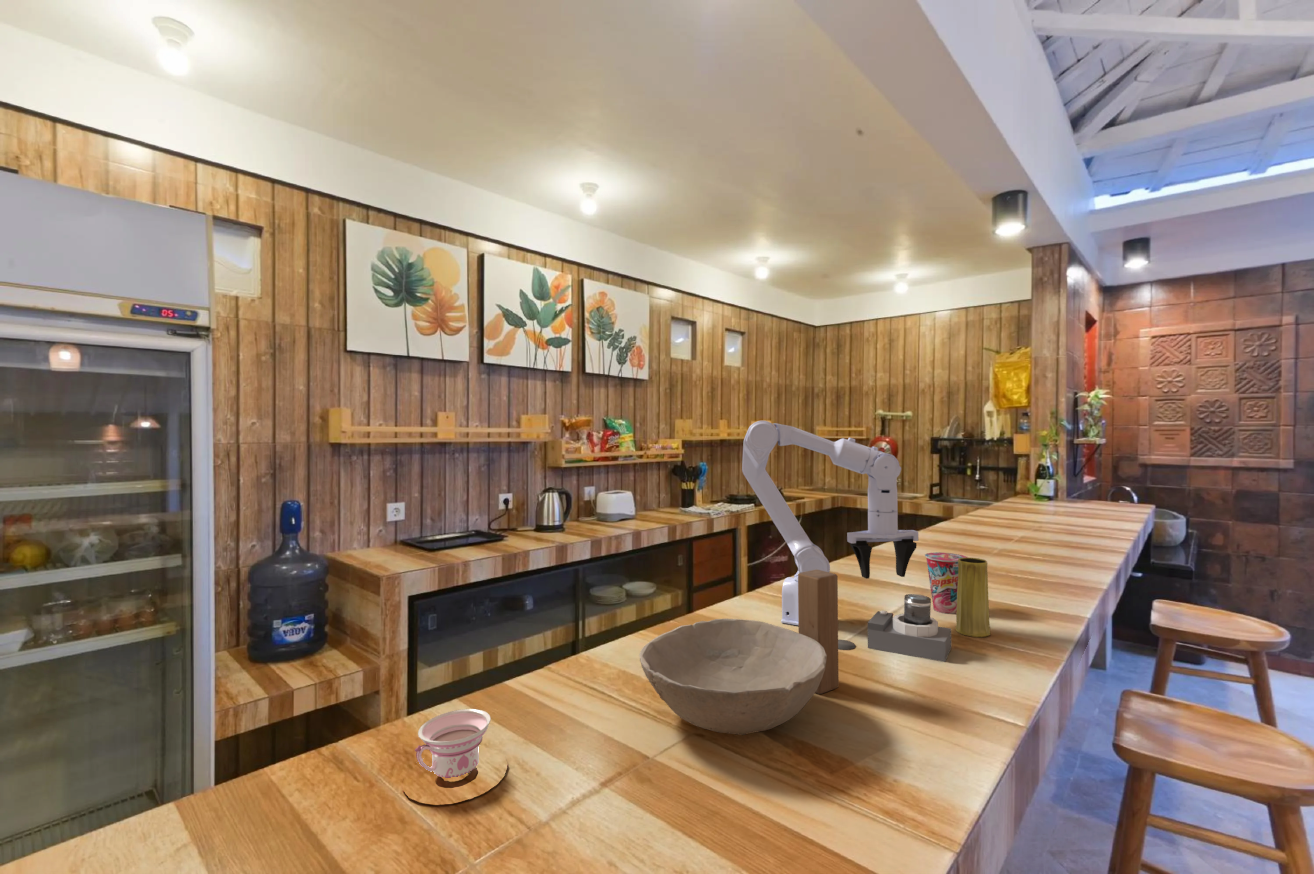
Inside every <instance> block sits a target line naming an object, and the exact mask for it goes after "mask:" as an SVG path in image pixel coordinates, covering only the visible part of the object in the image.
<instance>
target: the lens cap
mask: <svg viewBox="0 0 1314 874" xmlns="http://www.w3.org/2000/svg"><path fill="white" fill-rule="evenodd" d="M855 648H856V644H855V643H854V642H853V641H850V640H846V639H838V651H839V650H840V651H850V650H854V649H855Z"/></svg>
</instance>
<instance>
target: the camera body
mask: <svg viewBox="0 0 1314 874" xmlns="http://www.w3.org/2000/svg"><path fill="white" fill-rule="evenodd" d="M867 648H868V649H870V650H871V649H872V650H878V651H884V652H889V653H895V654H898V655H899V654H900V655H904V656H911V657H916V658H923V659H927V660H931V661H932V660H933V661H938V662H942V663H943V662H944V663H946V661H947V659H948V656H949V654H950V652H951V649H952V628H951V627H945V626H944V627H943V626H939V621H938V620H937V619H935V618H933V617H931V616H930V624H928V625H913V624H907V623H904V613H900V614H895V615H894V614H893V613H892V612H887V611H886V610H880V611H877V612H875V613H874V615H873V616H872V617H871V618H870V619H869V620H868V621H867Z"/></svg>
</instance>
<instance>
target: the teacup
mask: <svg viewBox="0 0 1314 874" xmlns="http://www.w3.org/2000/svg"><path fill="white" fill-rule="evenodd" d="M491 719H492V718H491V715H490V714H489V713H488V712H487V711H485V710H482V709H475V708H464V709H456V710H451V711H448V712H444V713H441V714H439V715H437V716H434V717H432V718H430V719H429V720H427V721H425V722H424V723H423V724H422V725H421V726H420V728H419V729H418V731H417V736H418V738H419V739H420V740H421V741H422V742H423V743H424V744H423V745H417V747H416V748H415V749H414V752H415V756H416V760H417V762H419V764H420V765H421V766H422V767H424V768H425V769H426V770H428V771H430V772H432V771H433V772H434V774H436V775H437V776H438V777H441V778H442V777H445V778H451V777H458V776H461V775H464V774H466V773H469V772H470V771H471V772H473V771H474V769H476V768H475V767H476V766H477V765H478V763H479V746H480V745H481V743H482V742H483V736H484V735H485V734H486V732H487V730H488V728H489V724H491ZM425 750H429V751H430V753H431V754H432V766H431V767H429V766H427V765H426V764H425V763H424V762H423V759H424V758H423V757H422V754H423V752H424V751H425ZM471 772H470V773H471ZM437 776H436V777H437Z"/></svg>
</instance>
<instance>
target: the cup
mask: <svg viewBox="0 0 1314 874" xmlns="http://www.w3.org/2000/svg"><path fill="white" fill-rule="evenodd" d="M924 556H925V558H926V563H927V572H928V579H929V580H928V581H929V588H930V594H931V603H932V607H933V610H934V611H935V612H938V613H942V614H950V615H953V614H956V612H957V587H958V559H959V558H970V557H968V556H966V555H963V554H960V553H958V554H957V553H951V552H929V553H925V554H924Z"/></svg>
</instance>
